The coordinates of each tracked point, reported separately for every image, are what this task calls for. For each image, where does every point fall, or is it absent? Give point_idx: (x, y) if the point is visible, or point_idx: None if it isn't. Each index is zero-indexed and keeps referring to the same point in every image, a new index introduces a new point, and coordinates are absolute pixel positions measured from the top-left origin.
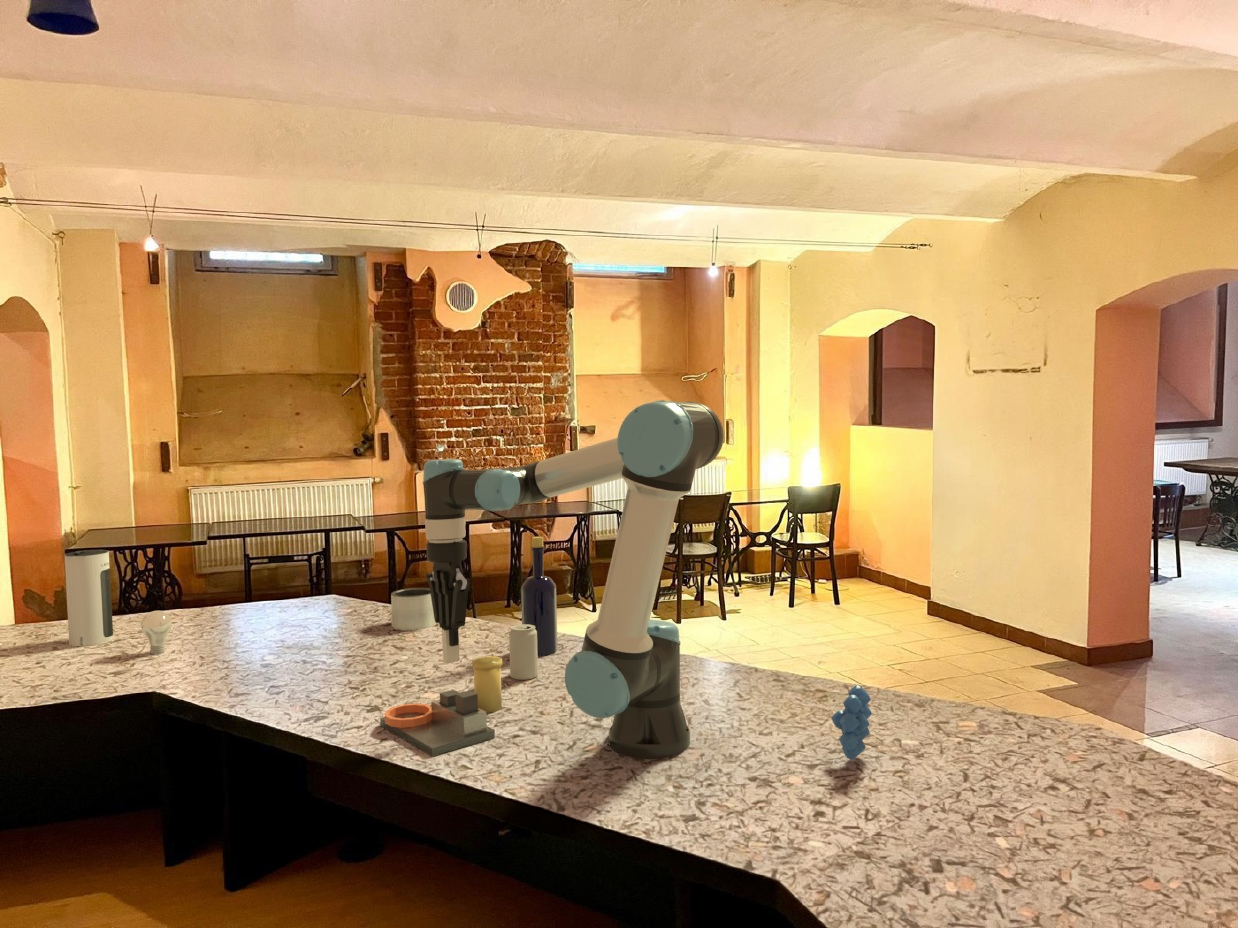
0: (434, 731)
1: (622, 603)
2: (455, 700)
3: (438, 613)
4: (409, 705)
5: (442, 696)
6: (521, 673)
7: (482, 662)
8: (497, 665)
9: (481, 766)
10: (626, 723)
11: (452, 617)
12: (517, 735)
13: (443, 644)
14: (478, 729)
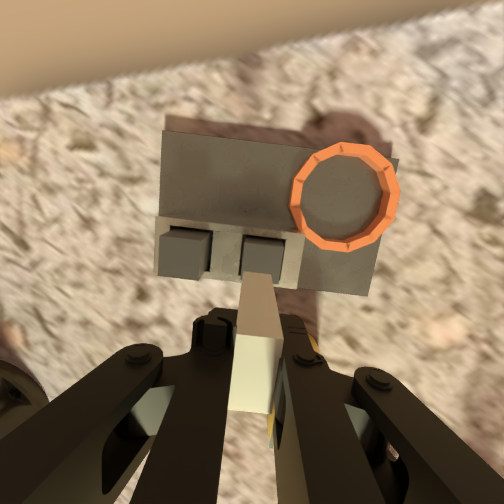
0: (237, 189)
1: None
2: (204, 237)
3: (386, 435)
4: (378, 224)
5: (270, 244)
6: None
7: None
8: (267, 424)
9: (66, 166)
10: None
11: (101, 397)
12: (142, 297)
13: (267, 299)
14: None
